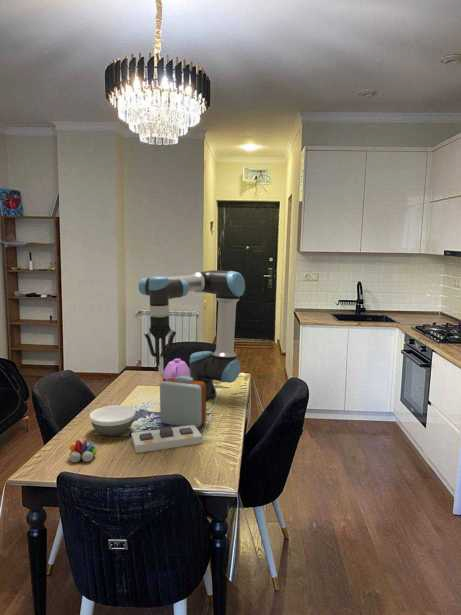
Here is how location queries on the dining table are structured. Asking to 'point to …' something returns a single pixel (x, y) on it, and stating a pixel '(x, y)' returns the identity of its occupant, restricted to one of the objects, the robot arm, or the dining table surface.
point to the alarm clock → (183, 401)
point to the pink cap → (176, 369)
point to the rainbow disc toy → (82, 451)
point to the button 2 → (186, 431)
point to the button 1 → (146, 436)
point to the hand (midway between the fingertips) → (161, 372)
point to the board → (166, 439)
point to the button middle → (166, 432)
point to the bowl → (112, 419)
